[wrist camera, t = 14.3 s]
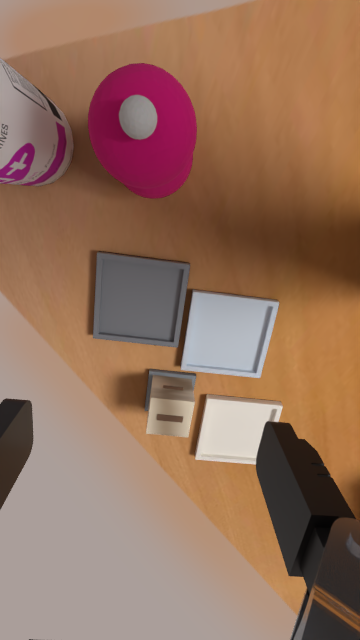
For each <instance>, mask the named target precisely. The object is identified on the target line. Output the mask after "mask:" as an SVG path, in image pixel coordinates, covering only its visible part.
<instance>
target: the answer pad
mask: <svg viewBox="0 0 360 640" xmlns="http://www.w3.org/2000/svg"><path fill="white" fill-rule="evenodd" d="M153 375H159V376H168V377H178V378H187V379H192V385H193V391H194V385H195V380H196V374H194V373H185V372H175V371H165V370H156V369H149V377H148V386H147V394H146V403H145V411H148V408H149V401H150V393H151V386H152V378H153Z"/></svg>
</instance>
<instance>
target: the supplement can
mask: <svg viewBox="0 0 360 640" xmlns="http://www.w3.org/2000/svg"><path fill="white" fill-rule="evenodd" d="M73 149H74V144H73V137H72V130H71V128H70V126H69V123H68V121H67V119H66V117H65V115H64V113H63V112H62V111H61V110H60V109H59V108H58V107H57V106H56V105H55V103H54V102H53V101H52V100H51V99H49V98H48V97H47V96H46V95H45V94H43V93H42V92H41V91H40V90H39V89H37V88H36V87H35V86H34V85H32V84H31V83H30V82H29V81H28V80H26V79H25V78H24V77H23V76H22V75H20V74H19V73H18V72H17V71H16V70H14V69H13V68H12V67H11V66H10V65H8V64H7V63H6V62H5V61H3V60H2V59H1V58H0V183H3V184H16V185H29V186H43V185H47V184H51V183H53V182H55V181H56V180H57V179H59V178H60V177H61V176H63V175H64V173H65V172H66V170H67V168H68V167H69V165H70V163H71V160H72V155H73Z"/></svg>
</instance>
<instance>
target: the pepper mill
mask: <svg viewBox="0 0 360 640" xmlns="http://www.w3.org/2000/svg"><path fill="white" fill-rule="evenodd" d="M88 129H89V136H90V141H91V144H92V147H93V150H94V152H95V154H96V156H97V158H98V160H99V161H100V163H101V164H102V166H103V167H104V168H105V169H106V170H107V171H108V173H109V174H111V175H112V176H113V177H114V178H115V179H117V180H119V181H120V182H122V183H123V184H124V185H125V186H126V187H127V188H128V189H129V190H131V191H132V192H134V193H135V194H137V195H140V196H142V197H146V198H163V197H166V196H168V195H170V194H172V193H174V192H175V191H177V190H178V189H179V188H180V187H181V186H182V185H183V184H184V182H185V181H186V179H187V177H188V175H189V173H190V170H191V167H192V161H193V151H194V148H195V143H196V134H197V125H196V117H195V112H194V109H193V106H192V103H191V100H190V98H189V96H188V94H187V92H186V91H185V89H184V88H183V87H182V85H181V84H180V83H179V82H178V81H177V80H176V79H175V78H174V77H173V76H172V75H171V74H169V73H168V72H166V71H165V70H163V69H161V68H159V67H156V66H154V65H150V64H145V63H139V64H129V65H127V66H124V67H121V68H119V69H117V70H115V71H114V72H112V73H110V74H109V75H108V76H107V77H106V78H105V79H104V80H103V81H102V82H101V83H100V85H99V86H98V88H97V90H96V91H95V93H94V96H93V98H92V101H91V103H90V108H89V113H88Z"/></svg>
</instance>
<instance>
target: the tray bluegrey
mask: <svg viewBox="0 0 360 640" xmlns="http://www.w3.org/2000/svg"><path fill="white" fill-rule="evenodd" d="M279 303H280V302H279V301H278V300H274V299H266V298H258V297H250V296H242V295H234V294H226V293H218V292H210V291H202V290H194V289H193V290H192V297H191V303H190V310H189V316H188V322H187V329H186V335H185V341H184V348H183V354H182V361H181V370H188V371H197V372H207V373H217V374H226V375H236V376H245V377H255V378H260V376H261V372H262V369H263V365H264V361H265V357H266V353H267V349H268V345H269V341H270V338H271V334H272V330H273V326H274V322H275V318H276V314H277V310H278V307H279Z"/></svg>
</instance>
